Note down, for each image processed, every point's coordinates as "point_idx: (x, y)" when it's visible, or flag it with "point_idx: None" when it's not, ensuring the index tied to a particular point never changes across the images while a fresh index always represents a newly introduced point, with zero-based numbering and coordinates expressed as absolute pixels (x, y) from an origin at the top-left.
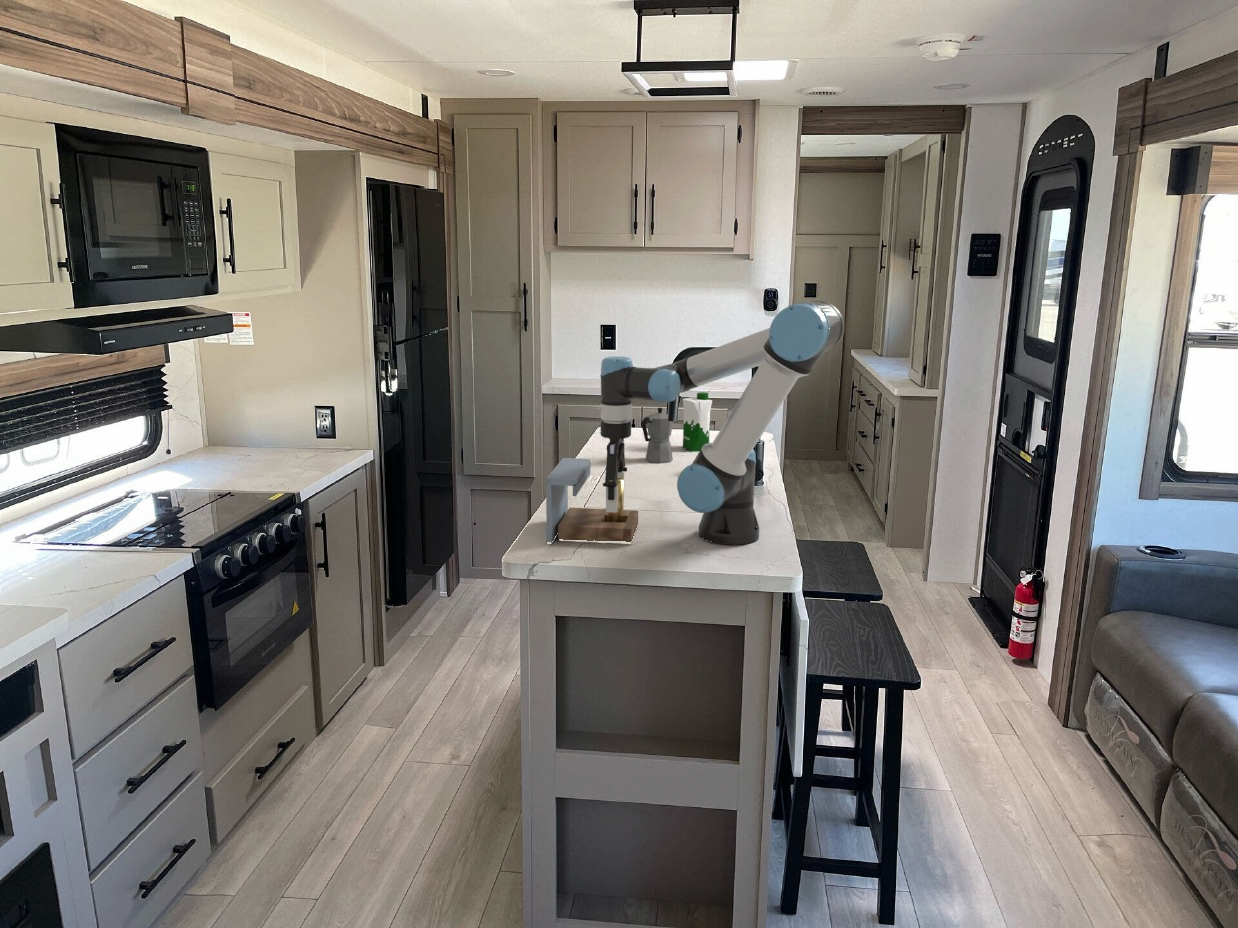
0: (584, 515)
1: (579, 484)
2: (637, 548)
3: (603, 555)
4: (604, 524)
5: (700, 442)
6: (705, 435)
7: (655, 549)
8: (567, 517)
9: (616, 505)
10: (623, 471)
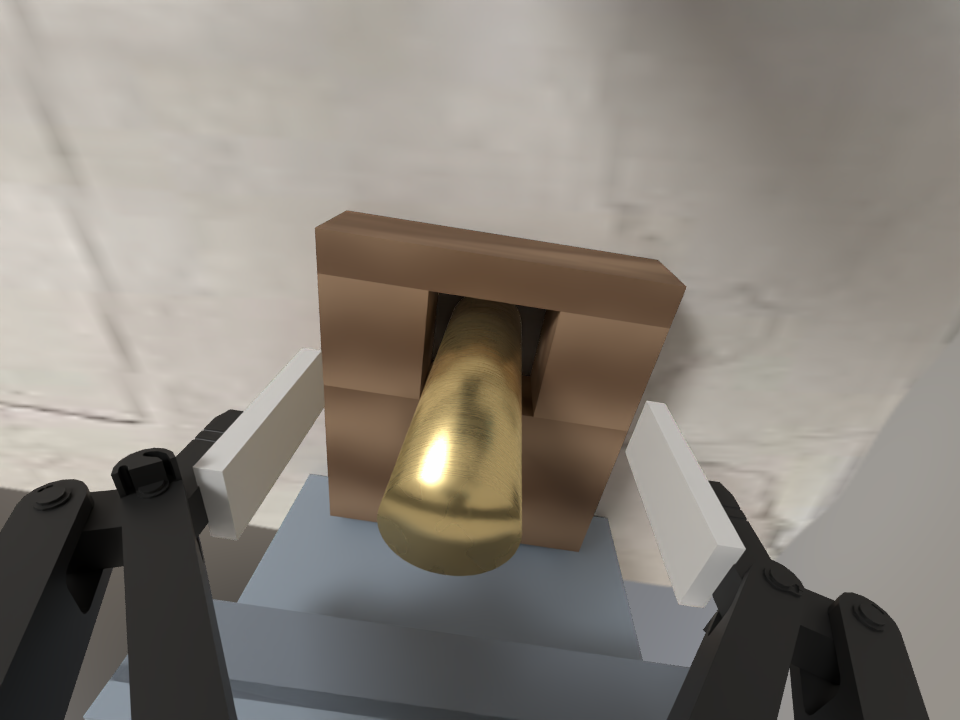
0: None
1: (599, 700)
2: (716, 231)
3: (768, 375)
4: (580, 406)
5: None
6: None
7: (759, 132)
8: None
9: (678, 434)
10: (177, 475)
